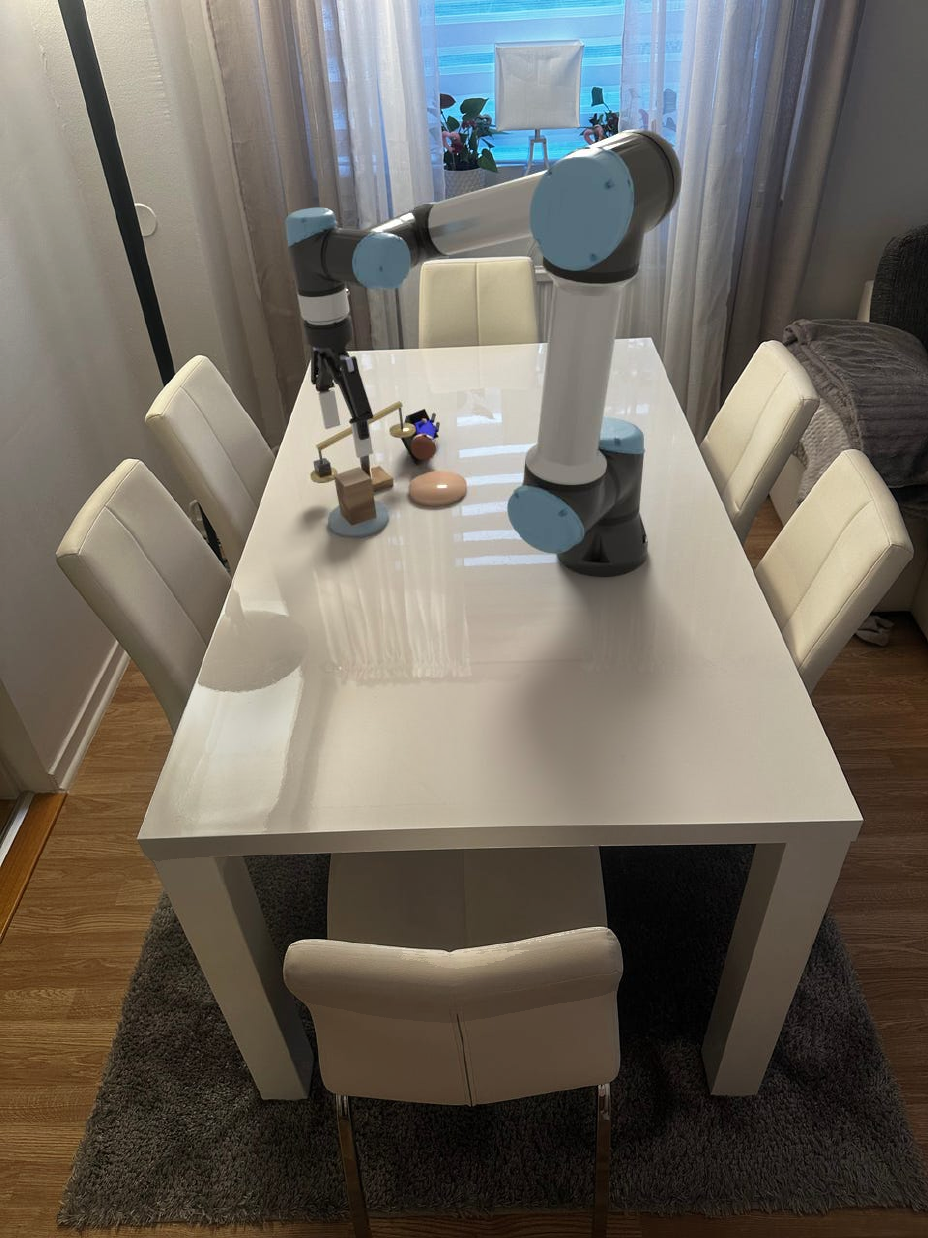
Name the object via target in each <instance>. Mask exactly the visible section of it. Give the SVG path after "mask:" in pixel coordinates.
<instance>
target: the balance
mask: <svg viewBox="0 0 928 1238" xmlns="http://www.w3.org/2000/svg"><path fill="white" fill-rule="evenodd" d="M402 408H403V403H402V402H401V401H397V402H395V403H393V404H391V405H389V406H388V407H387V406H386V408H384V409H382V410H380V411H378V412H376V413H373V418H372V419H369V420H368V424H369V425H371V424H373V423H375V422H376V421H379V420H381V419H382V418H384V417H386V416H388V415H390V414H392V413H393V412H395V411H397V410H398V412H399V413H398V414H399V421H400V422H399V423H397V424H394V425H392V426H391V427H389V431H388V432H389V434H390V436H391V437H393V438H397V439H401V438H405V437H409V436H412V435H413V434H414V433H415V432H416V429H415V426H414V425H412V424H409V423H404V419H403V412H402ZM350 435H353V433H352V427H351V426H350V427H348V428H346V429H344V430H342V431H340V432H338V433H337V434H335V435H333V436H331V437H329V438H327V439H326V440H323V441H321V442H320V443H318V444H316V445H315V447H316V449H317V453H318V457H319V459H317V460H314V461H313V468H314V470H312V471H311V473H310V475H309V476H310V480H311V481H312V482H314V483H316V484H328V483H330V482H333V481H335V479H334V475H336V474H338V470H337V469H336V468H334V467H332V466H331V462H330V461H329V460H328V459H327V458H326V457H323V456H322V455H323V454H322V450H324V449H326V448H329V447H330V446H331V445H334V444H336V443H338V442H340V441H342V440H343V439H345V438H347V437H348V436H350ZM359 463H360V468H361V469H362V470H363V471H364V472H365V473H366V474H367V475H368V476H369V477H371V480H372V487H373V493H375V492H378V491H380V490H383V489H385V488H389V487H393V486H394V478H393V477H392V476H391V475H390V474H389V473H388V472H387V471H385V469H383V467H381V466H380V465H378V466H376V467H371V461H370V455H367V456H364V457H361V458H359Z"/></svg>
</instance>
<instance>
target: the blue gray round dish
mask: <svg viewBox="0 0 928 1238" xmlns="http://www.w3.org/2000/svg"><path fill="white" fill-rule="evenodd" d="M374 501H375V508H376V515H377V517H376V518H373V519H370V520H367V521H364V522H361V523H358V524H355V525H353V526H351V524H350V523H349V522H348V521H347V520H346V519H345V518H344V517H343V516H342V515H341V514H340V508H339V505H338V506H336V507H335V508H333V509H332V510H331V511H330V512H329V515H328V517H327V521H328V526H329V529H330V530H331V532H333V533H334V534H335V535H338V536H340V537H343V538H344V537H345V538H350V539H351V538H364V537H367V536H371V535H374V534H376V533H379V532H380V531H382V530H383V529H384V528H385V527H386V526H387V525H388V524H389V521H390V512H389V509H388V507H387V506H386V505H385V504H384V503H382V502H379V501H377V500H374Z"/></svg>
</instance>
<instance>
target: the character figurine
mask: <svg viewBox="0 0 928 1238" xmlns="http://www.w3.org/2000/svg"><path fill="white" fill-rule="evenodd" d="M436 415H437V414H436V412H433V413H432V414H431V418H430V416H429V414H428V412H427V410H426V409H425V408H423V409H421V410H418V411H415V412H413V413H410V414H408V415H405V419H404V421H403V423H409V424H412V425H414V426H415V429H416V432H415V433H414V434H413V435H412V436H409V437H405V438H400V440H401V442H402V443H403V445H404V447H405V449H406V451H407V454H408V455H409V457H410V459H411V460H412V462H413V464H414V466H417V465H418V464H419V462H420V460H421V461H428V460H431V459H432V458H433V457H434V456H435V454H436V453H437V443H436V440H435V439H438V438H439V437H440V436H439V435H438V433H439V432H440V425H441V423H440V422H439V421H436ZM435 421H436V423H435ZM434 423H435V424H434Z"/></svg>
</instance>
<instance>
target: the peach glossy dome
mask: <svg viewBox="0 0 928 1238" xmlns="http://www.w3.org/2000/svg"><path fill="white" fill-rule="evenodd" d="M467 485H468V484H467V480H466V479H465V477H464V476H463V475H461V474H460V473H457V472H454V471H449V470H435V471H429V472H425V473H422V474H419V475H418V476H416V477H415V478H413V479H412V480H411V481H410V482H409V484H408V495H409V497H410V499H411V500H412V501H414V503H417V504H420V505H423V506H429V507H439V506H447V505H450V504H454V503H456V502H458V501H459V500H461V499H463V498H464V496H465V495H466V494H467V491H468V486H467Z"/></svg>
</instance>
